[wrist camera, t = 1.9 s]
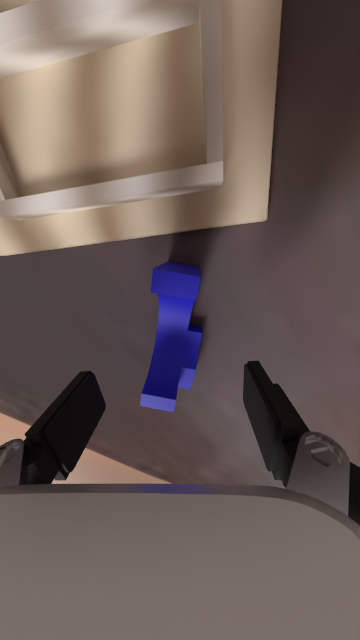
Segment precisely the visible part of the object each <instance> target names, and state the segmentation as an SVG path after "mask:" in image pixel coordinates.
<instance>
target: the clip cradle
mask: <svg viewBox="0 0 360 640" xmlns="http://www.w3.org/2000/svg"><path fill="white" fill-rule="evenodd" d="M281 11H282V0H0V256H5V255H15V254H22V253H30V252H37V251H44V250H52V249H59V248H67V247H74V246H82V245H89V244H97V243H104V242H112V241H119V240H127V239H134V238H141V237H149V236H156V235H164V234H171V233H179V232H186V231H194V230H201V229H209V228H216V227H224V226H231V225H238V224H246V223H253V222H261V221H265V220H267V211H268V197H269V182H270V168H271V154H272V139H273V125H274V111H275V97H276V82H277V68H278V54H279V40H280V25H281Z"/></svg>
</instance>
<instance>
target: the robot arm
mask: <svg viewBox="0 0 360 640" xmlns="http://www.w3.org/2000/svg"><path fill="white" fill-rule="evenodd" d="M243 401H244V405H245V408H246V411H247V414H248V417H249V420H250V422H251V425H252V428H253V431H254V434H255V436H256V439H257V442H258V445H259V448H260V451H261V453H262V456H263V459H264V462H265V465H266V467H267V470H268V471H272V473H273V476H274V478H275V480H282V482H283V485H284V487H286V489H283V488H277V487H269V486H258V485H229V484H51V483H52V481H53V480H54V478H55V480H66V479H67V477H68V475H69V473H70V472H72V471H73V469H74V468H75V466H76V464H77V462H78V460H79V458H80V456H81V454H82V453H83V451H84V449H85V447H86V445H87V443H88V441H89V439H90V437H91V436H92V434H93V432H94V430H95V428H96V426H97V424H98V422H99V420H100V418H101V416H102V415H103V413H104V411H105V408H106V404H105V401H104V398H103V396H102V393H101V390H100V388H99V385H98V382H97V380H96V377H95V375H94V373H92V372H91V371H82V372H80V373H79V374H78V375H77V376H76V377H75V378H74V379H73V380H72V381H71V383H70V384H69V385H68V386H67V387H66V388H65V389H64V390H63V392H62V393H61V394H60V395H59V396H58V397H57V398H56V399H55V401H54V402H53V403H52V404H51V405H50V406H49V407H48V408H47V410H46V411H45V412H44V413H43V414H42V415H41V416H40V417H39V419H38V420H37V421H36V422H35V423H34V424H33V425H32V426H31V428H30V429H29V430H28V431H27V432H26V433H25V436H26V437H27V438H26V439H25V440H24V441H23V440H22V439H14V440H11V441H8V442H6V443H5V444H3V445H1V446H0V640H360V467H358V466H356V465H355V464H353V463H351V462H349V458H348V456H347V454H346V452H345V451H344V450H343V448H342V447H341V446H340V445H339V444H338V443H337V442H335V441H334V440H333V439H331V438H330V437H328V436H326V435H324V434H321V433H319V432H313V431H311V432H310V430H309V429H308V427H307V426H306V424H305V423H304V421H303V420H302V418H301V417H300V415H299V414H298V412H297V411H296V409H295V408H294V406H293V405H292V403H291V402H290V400H289V399H288V397H287V396H286V394H285V393H284V391H283V390H282V388H281V387H280V386H279V385H278V384H273V383H272V382H271V380H270V378H269V377H268V375H267V374H266V372H265V370H264V369H263V367H262V366H261V364H260V362H259V361H248V363H247V364H245V365H244V387H243Z"/></svg>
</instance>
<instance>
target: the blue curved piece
mask: <svg viewBox="0 0 360 640" xmlns="http://www.w3.org/2000/svg"><path fill="white" fill-rule="evenodd" d="M200 280H201V274H200V268H199V267H195V266H189V265H184V264H178V263H172V262H166V263H164V264H162V265H160V266H157V267H155V268H153V275H152V286H151V292H153V293H157V294H158V298H159V319H158V328H157V335H156V341H155V346H154V351H153V356H152V360H151V364H150V368H149V372H148V376H147V379H146V382H145V385H144V388H143V391H142V395H141V405H140V406H144V407H149V408H154V409H159V410H165V411H170V412H174V407H175V402H176V396H177V389H178V387H179V388H185V389H190V390H191V387H192V383H193V379H194V375H195V371H196V365H197V358H198V352H199V347H200V342H201V337H202V328H201V327H196V326H190V325H189V321H190V316H191V312H192V307H193V304H194V300H196V299H197V294H198V290H199V285H200Z"/></svg>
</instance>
